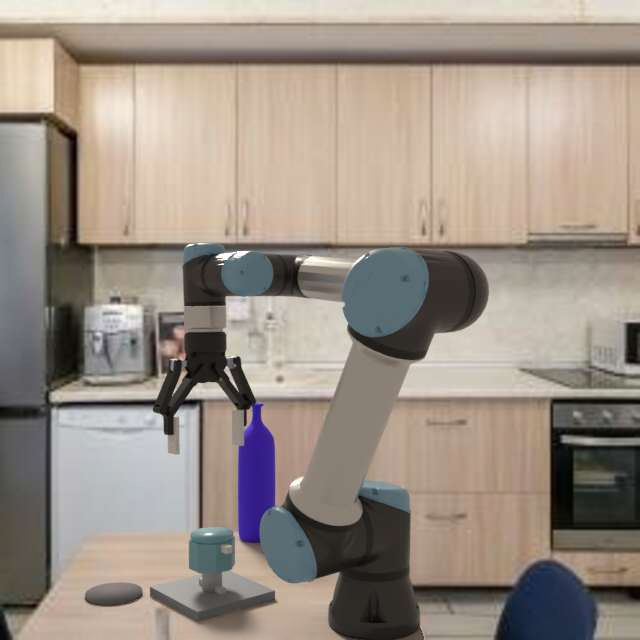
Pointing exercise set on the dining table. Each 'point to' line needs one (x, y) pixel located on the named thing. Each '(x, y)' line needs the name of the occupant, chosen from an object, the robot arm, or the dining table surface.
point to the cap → (212, 550)
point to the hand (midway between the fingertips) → (206, 449)
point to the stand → (211, 594)
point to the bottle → (255, 477)
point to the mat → (113, 593)
